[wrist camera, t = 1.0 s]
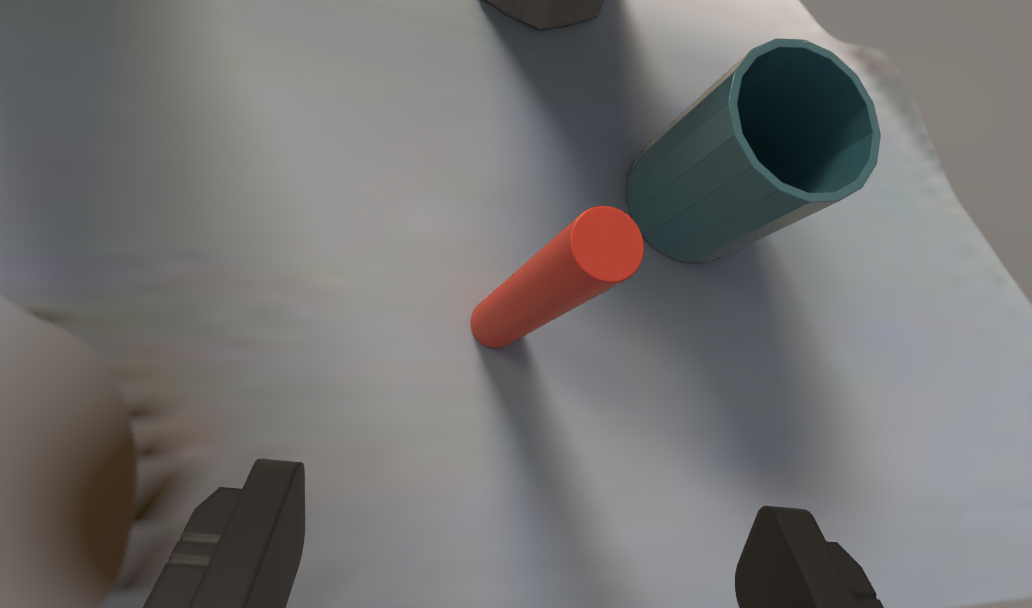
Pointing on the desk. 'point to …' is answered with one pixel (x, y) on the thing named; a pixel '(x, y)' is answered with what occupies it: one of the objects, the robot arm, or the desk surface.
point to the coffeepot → (549, 11)
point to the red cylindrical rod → (561, 276)
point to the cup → (755, 153)
